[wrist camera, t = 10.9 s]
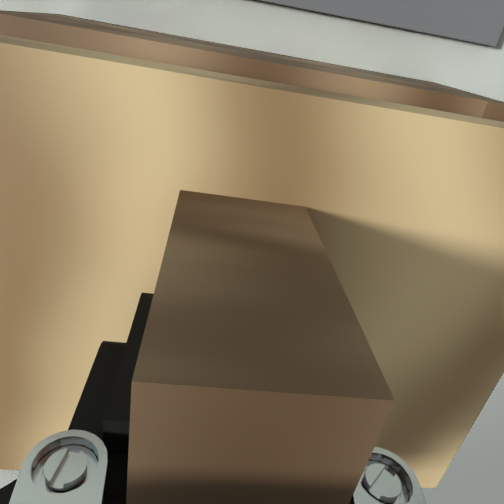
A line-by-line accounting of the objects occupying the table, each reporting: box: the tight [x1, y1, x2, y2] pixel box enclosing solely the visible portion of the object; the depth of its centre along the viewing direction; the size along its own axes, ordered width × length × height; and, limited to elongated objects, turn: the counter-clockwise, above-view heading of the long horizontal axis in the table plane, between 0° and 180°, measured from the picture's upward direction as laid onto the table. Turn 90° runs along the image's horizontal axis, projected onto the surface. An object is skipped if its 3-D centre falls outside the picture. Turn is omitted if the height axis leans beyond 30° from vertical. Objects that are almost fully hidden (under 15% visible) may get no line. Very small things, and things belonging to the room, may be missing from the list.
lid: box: [0, 35, 504, 504], centre depth 10 cm, size 18×13×8 cm
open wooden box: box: [0, 11, 504, 122], centre depth 20 cm, size 18×17×8 cm
